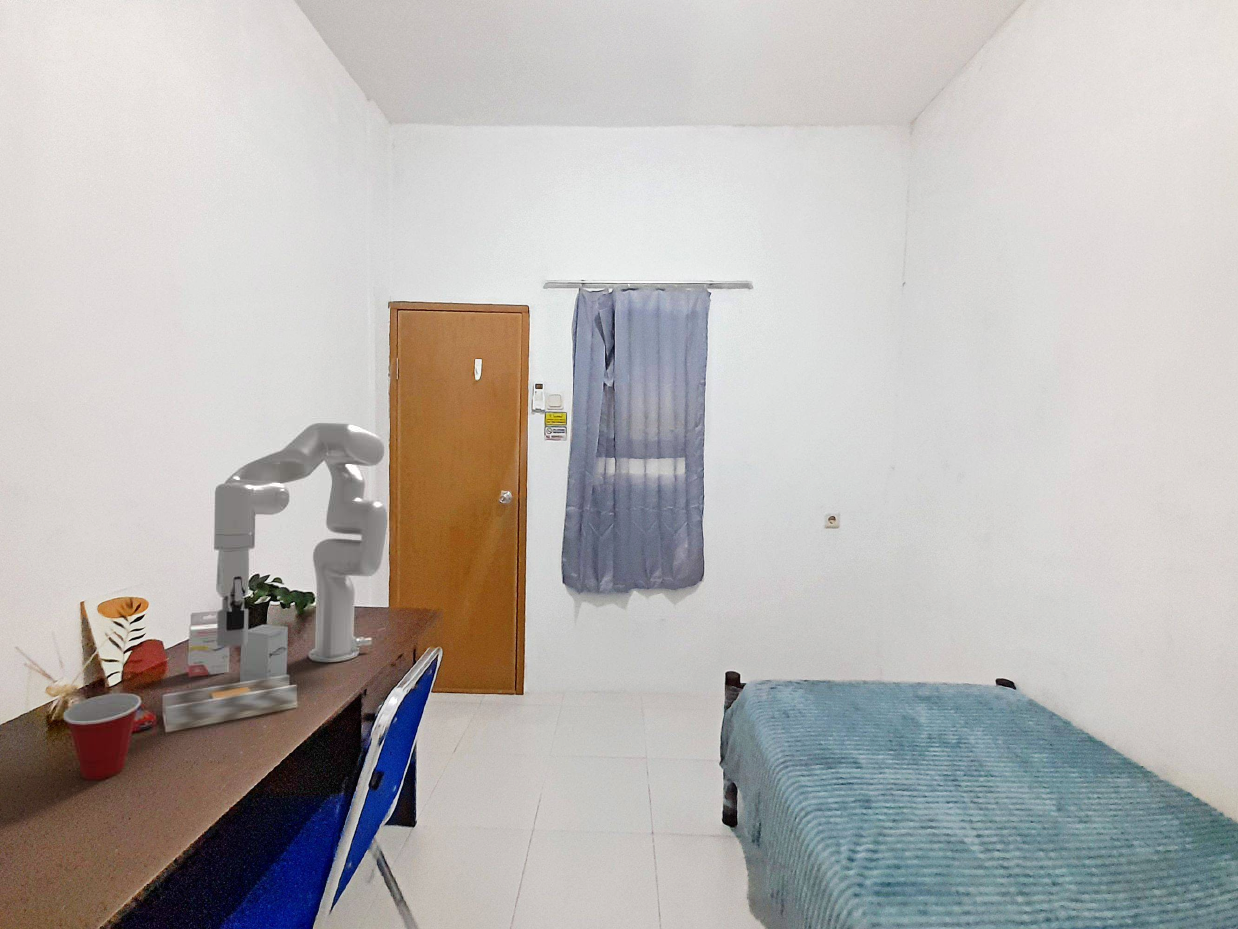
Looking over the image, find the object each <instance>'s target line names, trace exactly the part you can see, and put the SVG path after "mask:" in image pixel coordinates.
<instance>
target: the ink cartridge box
mask: <svg viewBox="0 0 1238 929" xmlns="http://www.w3.org/2000/svg"><path fill="white" fill-rule="evenodd" d="M218 611H219V610H210V611H209V610H208V611H201V612H199V611H198V612H191V614H190V625H189V632H188V634H189V635H188V638H189V639H188V660H187V661H188V664H187V665H188V666H187V667H188V668H187V671H188V678H191V677H193V678H194V677H200V676H201V677H202V676H210V675H219V674H226V673H229V671H230V670H229V668H230V667H229V666H230V646H217V618H218ZM208 616H215V617H210V618H204V617H208Z"/></svg>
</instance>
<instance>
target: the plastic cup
mask: <svg viewBox="0 0 1238 929" xmlns="http://www.w3.org/2000/svg"><path fill="white" fill-rule="evenodd" d="M141 704H142V699H141V696H139V695H137V694H134V693H125V692H120V693H107V694H103V695H99V696H93V697H90V698H88V699H83V700H80V701H79V702H77V703H75V704H73V705H71V706H69V707H68V708H67V709H66V710H65V711H64V712H63V713H62V714H63V715H62V716H63V720H64V721H65V722H67V725H68V727H69V728H70V732H71V734H72V740H73V744H74V747H75V752H76V753H75V754H76V756H77V761H78V762H79V768H80V775H82V779H84V780H86V781H99V780H104V779H108V778H110V777H114V776H116V775H117V774H119V773H121V772H122V771H123V769H125V768H124V767H125V766H126V765H125V764H126V761H127V760H126V759H127V756H128V751H129V749H130V748H129V747H130V743H131V738H132V733H133V732H132V729H133V724H134V720H135V717H136V713H137V709H138V707H139V705H141Z"/></svg>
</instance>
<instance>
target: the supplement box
mask: <svg viewBox="0 0 1238 929" xmlns="http://www.w3.org/2000/svg"><path fill="white" fill-rule="evenodd" d="M288 629H289V627H288V626H282V625H272V624H271V625H270V624H261V625H260V624H259V625H258V626H255V627H252V628H248V643H247V644H245V645H243V646H240V672H239V674H240V676H239V682H245V681H251V680H258V679H264V678H270V677H276V676H282V675H288V674H287V670H288V669H287V665H288V632H289V630H288Z"/></svg>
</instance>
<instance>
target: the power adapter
mask: <svg viewBox="0 0 1238 929" xmlns="http://www.w3.org/2000/svg"><path fill="white" fill-rule="evenodd" d="M232 601H234V599H232ZM221 603H222V604H221V605H222V606H221V609H220V610H217V611H218V618H217V646H229V647H241V646H243V645H245V644H247V643H248V630H249V609H248V608H244V628H243V629H240V630H231V631H227V629H226V617H227V611H228V598H226V599H224V598H222V602H221Z"/></svg>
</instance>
